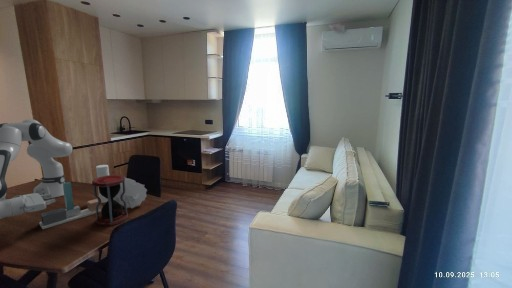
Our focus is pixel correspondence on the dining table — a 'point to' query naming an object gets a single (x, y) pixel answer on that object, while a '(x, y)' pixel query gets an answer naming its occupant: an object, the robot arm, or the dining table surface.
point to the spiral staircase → (131, 193)
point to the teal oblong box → (69, 200)
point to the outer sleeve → (53, 216)
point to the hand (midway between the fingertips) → (53, 197)
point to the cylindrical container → (101, 171)
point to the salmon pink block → (93, 205)
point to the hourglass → (110, 200)
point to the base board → (70, 218)
